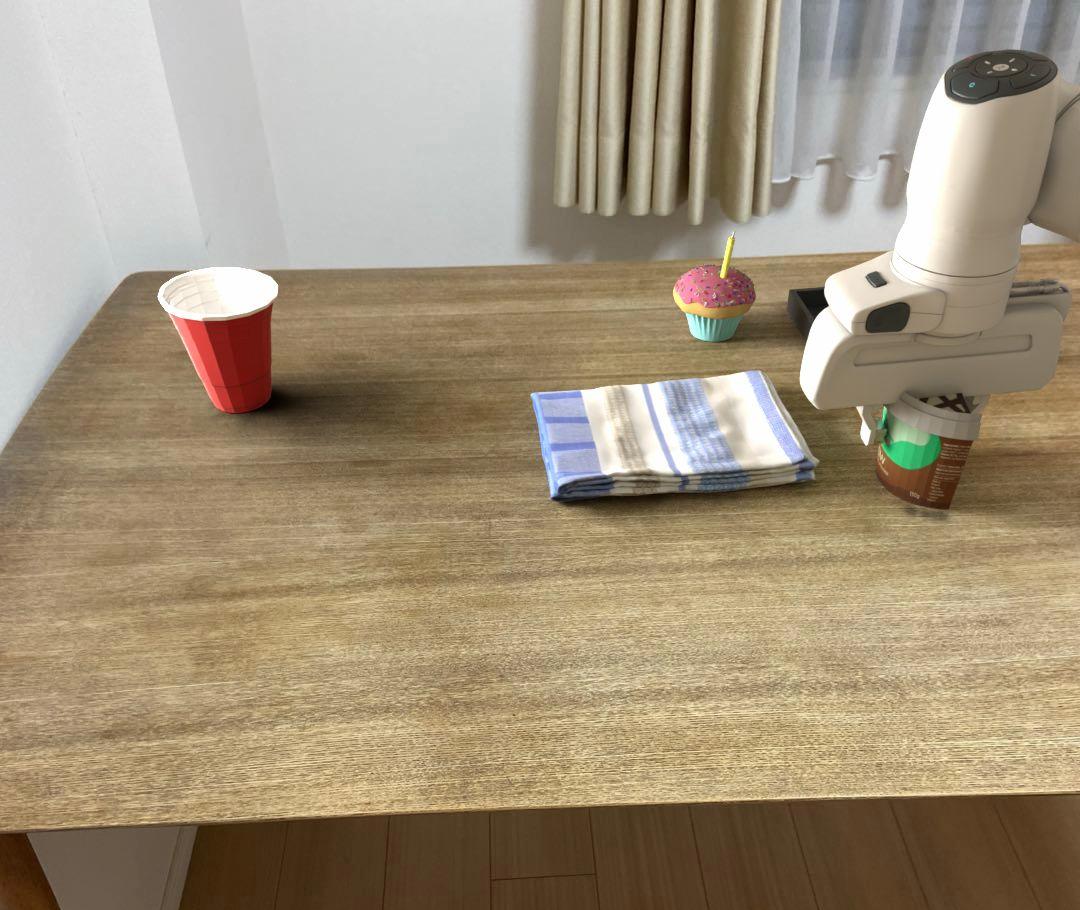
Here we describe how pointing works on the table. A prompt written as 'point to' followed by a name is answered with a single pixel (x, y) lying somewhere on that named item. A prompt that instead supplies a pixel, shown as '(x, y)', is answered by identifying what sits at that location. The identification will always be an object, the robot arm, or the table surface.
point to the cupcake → (715, 298)
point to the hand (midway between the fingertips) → (911, 437)
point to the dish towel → (670, 438)
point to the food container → (926, 448)
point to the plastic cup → (226, 332)
